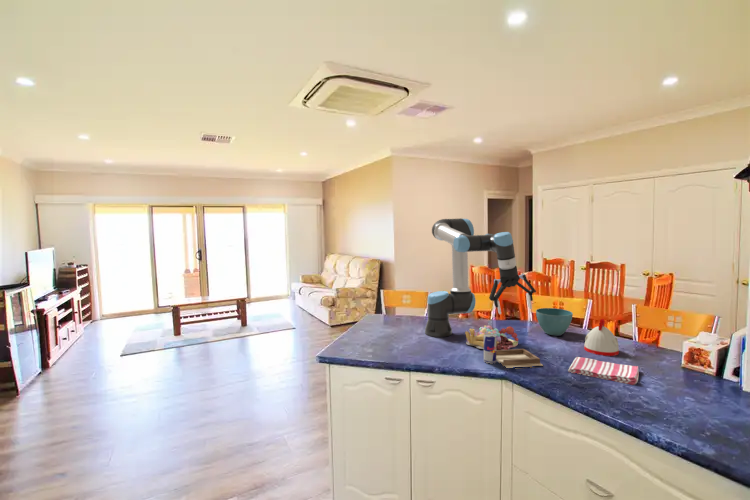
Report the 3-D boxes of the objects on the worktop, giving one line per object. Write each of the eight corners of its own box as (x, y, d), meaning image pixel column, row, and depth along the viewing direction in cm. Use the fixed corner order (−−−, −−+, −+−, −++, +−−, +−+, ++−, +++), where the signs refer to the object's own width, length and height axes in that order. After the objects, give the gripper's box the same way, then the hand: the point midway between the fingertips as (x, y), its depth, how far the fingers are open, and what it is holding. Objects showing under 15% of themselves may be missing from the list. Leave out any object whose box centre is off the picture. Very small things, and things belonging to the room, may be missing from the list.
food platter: (502, 355, 172) (502, 336, 171) (457, 345, 188) (457, 327, 187) (522, 342, 190) (522, 324, 189) (480, 334, 206) (480, 318, 205)
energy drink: (490, 364, 160) (489, 337, 159) (481, 361, 164) (481, 334, 164) (499, 362, 162) (498, 335, 161) (490, 358, 167) (489, 332, 166)
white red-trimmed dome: (621, 350, 174) (622, 319, 174) (615, 358, 164) (616, 325, 164) (588, 344, 184) (588, 314, 183) (580, 351, 174) (581, 320, 173)
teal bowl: (573, 331, 207) (573, 309, 206) (571, 340, 191) (571, 316, 190) (538, 327, 216) (538, 306, 215) (533, 335, 200) (533, 313, 200)
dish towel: (637, 387, 136) (637, 378, 136) (567, 373, 150) (567, 365, 150) (639, 372, 149) (639, 363, 149) (574, 360, 163) (574, 353, 163)
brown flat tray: (489, 354, 172) (489, 349, 172) (521, 352, 174) (521, 347, 174) (506, 369, 155) (506, 362, 154) (542, 366, 156) (542, 360, 156)
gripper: (481, 274, 162) (489, 318, 166) (539, 263, 159) (545, 308, 163) (477, 270, 169) (485, 312, 174) (533, 258, 166) (539, 302, 171)
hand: (514, 310), depth 169 cm, fingers open, 13 cm apart
